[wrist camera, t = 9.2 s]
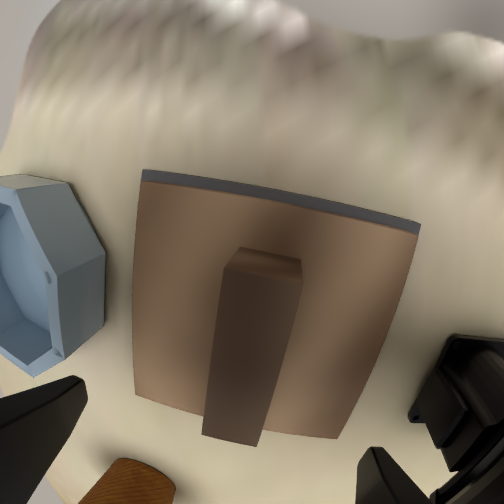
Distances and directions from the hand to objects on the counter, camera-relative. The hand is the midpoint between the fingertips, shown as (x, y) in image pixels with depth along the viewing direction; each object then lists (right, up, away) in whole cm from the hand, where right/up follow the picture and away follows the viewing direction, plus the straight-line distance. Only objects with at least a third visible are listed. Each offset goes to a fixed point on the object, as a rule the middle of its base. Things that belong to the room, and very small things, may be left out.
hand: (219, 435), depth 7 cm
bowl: (-13, +5, +9) cm, 16 cm away
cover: (+1, +2, +7) cm, 7 cm away
